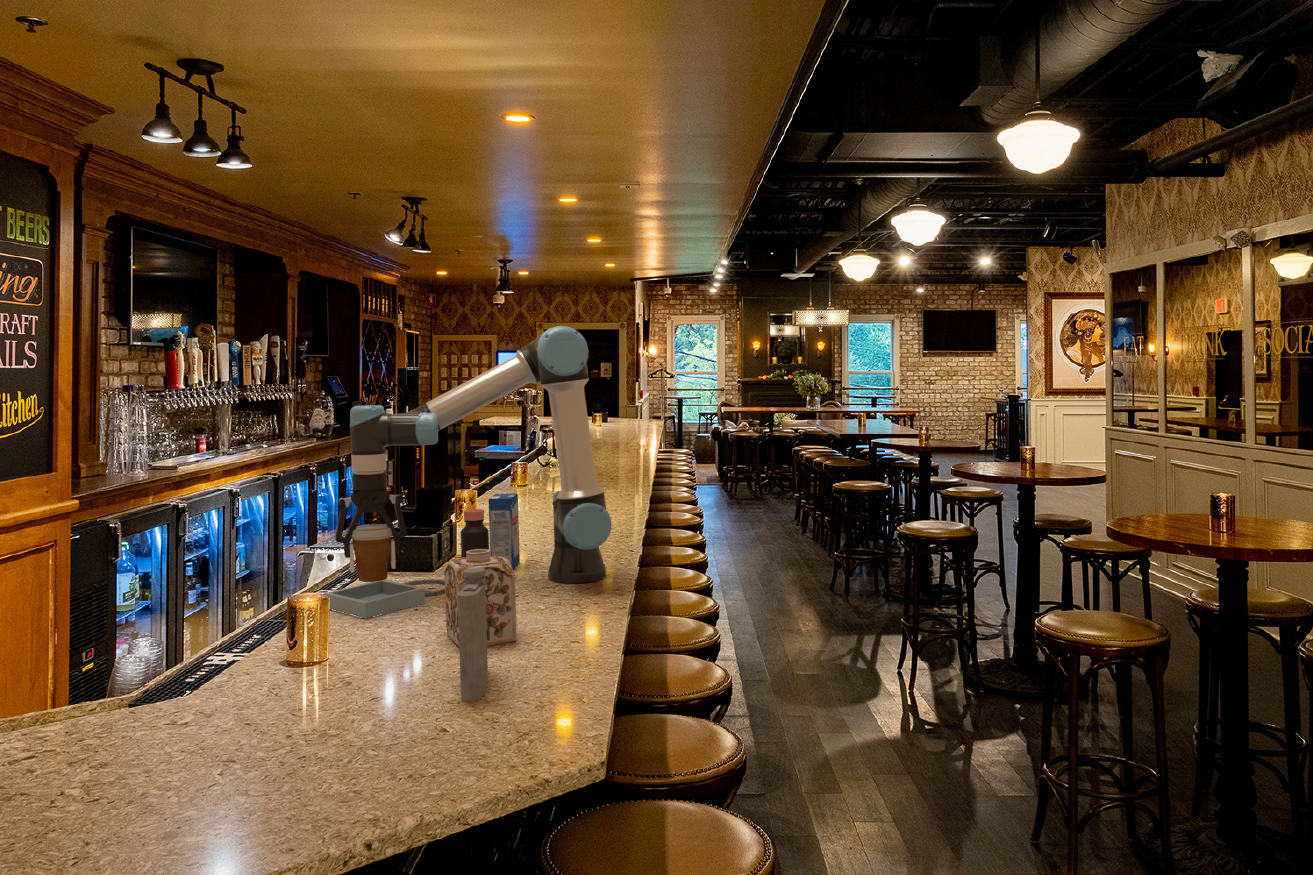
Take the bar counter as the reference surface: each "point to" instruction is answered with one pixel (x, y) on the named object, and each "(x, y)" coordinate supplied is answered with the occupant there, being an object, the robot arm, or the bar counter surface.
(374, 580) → the disposable coffee cup
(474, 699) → the hip flask
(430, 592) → the collar
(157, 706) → the bar counter surface
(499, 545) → the milk carton
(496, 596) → the decorative jar
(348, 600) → the bin
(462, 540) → the bottle
